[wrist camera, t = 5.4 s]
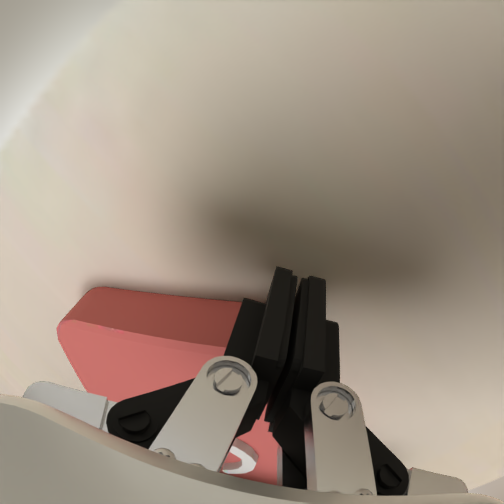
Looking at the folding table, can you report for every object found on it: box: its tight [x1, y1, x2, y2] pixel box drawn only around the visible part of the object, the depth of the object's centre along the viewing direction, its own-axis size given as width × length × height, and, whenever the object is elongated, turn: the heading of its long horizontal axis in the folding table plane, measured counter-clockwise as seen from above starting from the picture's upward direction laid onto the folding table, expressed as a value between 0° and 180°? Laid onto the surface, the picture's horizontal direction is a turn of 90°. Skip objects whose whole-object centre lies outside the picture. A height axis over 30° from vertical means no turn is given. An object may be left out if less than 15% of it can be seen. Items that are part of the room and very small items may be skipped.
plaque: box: [57, 287, 278, 485], centre depth 17 cm, size 18×4×15 cm
